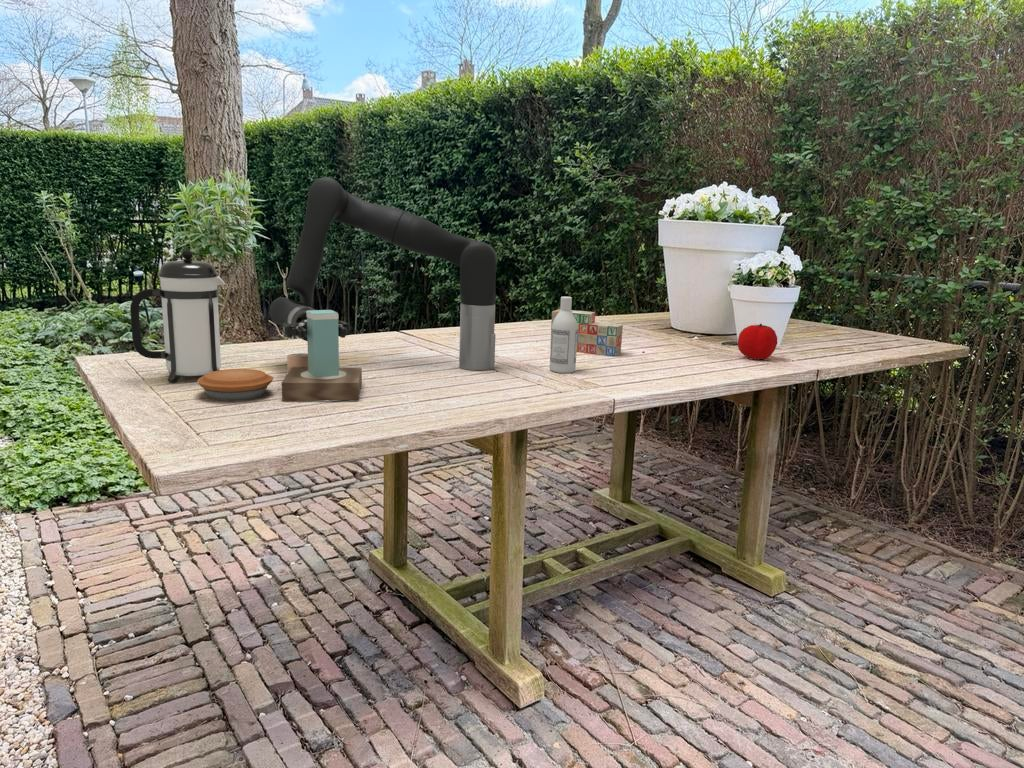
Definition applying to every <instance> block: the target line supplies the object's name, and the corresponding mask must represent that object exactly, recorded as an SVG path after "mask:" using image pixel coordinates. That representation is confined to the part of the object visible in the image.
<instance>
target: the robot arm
mask: <svg viewBox="0 0 1024 768" xmlns="http://www.w3.org/2000/svg"><path fill="white" fill-rule="evenodd" d="M307 195H308V196H307V203H306V208H305V209H306V210H305V216H304V221H303V225H302V230H301V234H300V239H299V242H298V245H297V248H296V252H295V255H294V258H293V261H292V263H291V267H290V270H289V273H288V277H287V279H286V287H287V288H288V289H290V290H291V291H293V292H295V293H296V294H297V295H298V296H299V297H300V302H299V301H296V300H294V299H290V298H288V297H283V296H282V297H281V296H279V297H278V298H276V299H274V300H273V301H272V302H271V304H270V307H269V311H268V312H269V313H268V314H269V317H270V319H271V321H272V322H273V323H274V324H276V325H279V326H281V327H282V328H283V330H282V331H283V334H284V336H285V337H286V338H289V339H291V338H293V336H295V338H297V339H301V340H303V341H305V342H307V313H306V311H308V310H315V309H314V308H313V305H314V304H313V302H314V301H313V300H314V292H315V287H316V283H317V281H318V279H319V275H320V271H321V267H322V264H323V257H324V252H325V251H324V250H325V243H326V239H327V234H328V231H329V227H330V225H331V222H332V221H334V222H337V223H338V222H339V223H342V224H345V225H349V226H353V227H355V228H358V229H361V230H362V231H365V232H366V233H369V234H371V235H372V236H375V237H377V238H378V239H381V240H382V241H385V242H387V243H389V244H392V245H394V246H397V247H400V248H402V249H404V250H407V251H410V252H413V253H417V254H421V255H425V256H428V257H429V256H430V257H434V258H438V259H441V260H445V261H447V262H449V263H451V264H452V265H453V264H454V265H456V266H457V267H459V293H460V307H459V308H460V311H459V313H460V315H459V316H460V317H459V319H460V321H459V351H458V353H459V356H458V357H459V359H458V361H459V364H458V366H459V368H461V369H464V370H469V371H488V370H495V365H496V364H495V363H496V362H495V361H496V360H495V359H496V333H495V326H496V325H495V324H496V299H497V298H496V296H497V295H496V276H497V275H496V273H497V265H498V254H497V252H496V250H495V248H493V246H492V245H491V244H488V243H487V242H484V241H478V240H475V239H471V238H468V237H465V236H462V235H458V234H456V233H453V232H450V231H448V230H446V229H445V228H443V227H441V226H440V225H437V224H435V223H433V222H431V221H429V220H428V219H426V218H424V217H421V216H419V215H416V214H414V213H411V212H409V211H407V210H404V209H401V208H397V207H394V206H389V205H385V204H384V205H382V204H376V203H371V202H369V201H367V200H364V199H362V198H359V197H357V196H355V195H354V194H352V193H350V192H348V191H346V190H345V189H344V188H343V186H342V185H341V184H340V183H339V181H337V180H336V179H334V178H332V177H328V176H326V177H325V176H324V177H319V178H317V179H316V180H315V181H313V182H312V183H311V185H310V187H309V189H308V194H307ZM350 329H351V325H350V323H348V322H345V321H343V320H339V319H338V336H339V338H341V339H342V338H344V339H345V338H346V336H350V335H351V332H350Z"/></svg>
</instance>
